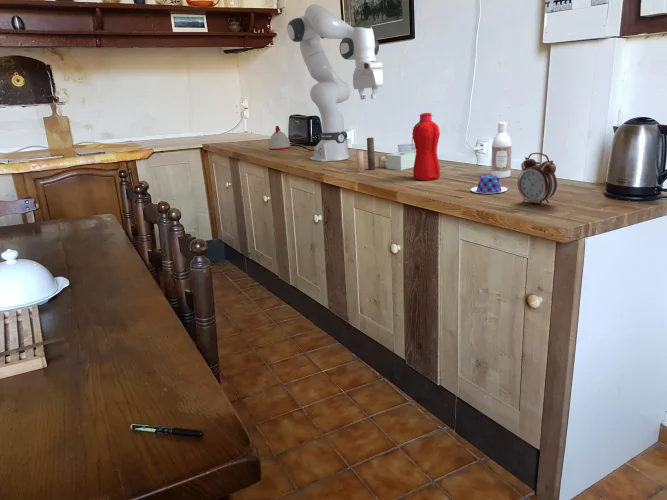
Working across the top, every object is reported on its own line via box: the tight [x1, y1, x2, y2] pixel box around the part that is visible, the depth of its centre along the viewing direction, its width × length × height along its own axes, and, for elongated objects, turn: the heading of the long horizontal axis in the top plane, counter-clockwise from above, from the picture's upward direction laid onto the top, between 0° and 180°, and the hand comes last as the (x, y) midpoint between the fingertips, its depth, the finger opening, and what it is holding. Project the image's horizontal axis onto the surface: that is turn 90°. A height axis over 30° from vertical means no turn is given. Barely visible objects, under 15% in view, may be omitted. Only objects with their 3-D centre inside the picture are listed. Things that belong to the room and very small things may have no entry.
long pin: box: [366, 137, 376, 171], centre depth 229 cm, size 3×3×14 cm
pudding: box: [470, 174, 508, 195], centre depth 173 cm, size 12×12×5 cm
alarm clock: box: [517, 152, 558, 207], centre depth 150 cm, size 11×5×15 cm, turn 33°
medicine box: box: [397, 143, 416, 157], centre depth 241 cm, size 8×4×9 cm, turn 84°
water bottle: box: [411, 112, 441, 182], centre depth 198 cm, size 9×11×25 cm
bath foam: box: [490, 121, 513, 179], centre depth 192 cm, size 7×7×20 cm
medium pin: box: [356, 150, 365, 173], centre depth 226 cm, size 3×3×9 cm
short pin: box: [377, 155, 386, 169], centre depth 234 cm, size 3×3×5 cm
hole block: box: [385, 151, 415, 171], centre depth 230 cm, size 9×9×6 cm
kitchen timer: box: [268, 125, 292, 151], centre depth 330 cm, size 14×14×15 cm
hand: (368, 99), depth 225 cm, fingers open, 8 cm apart
